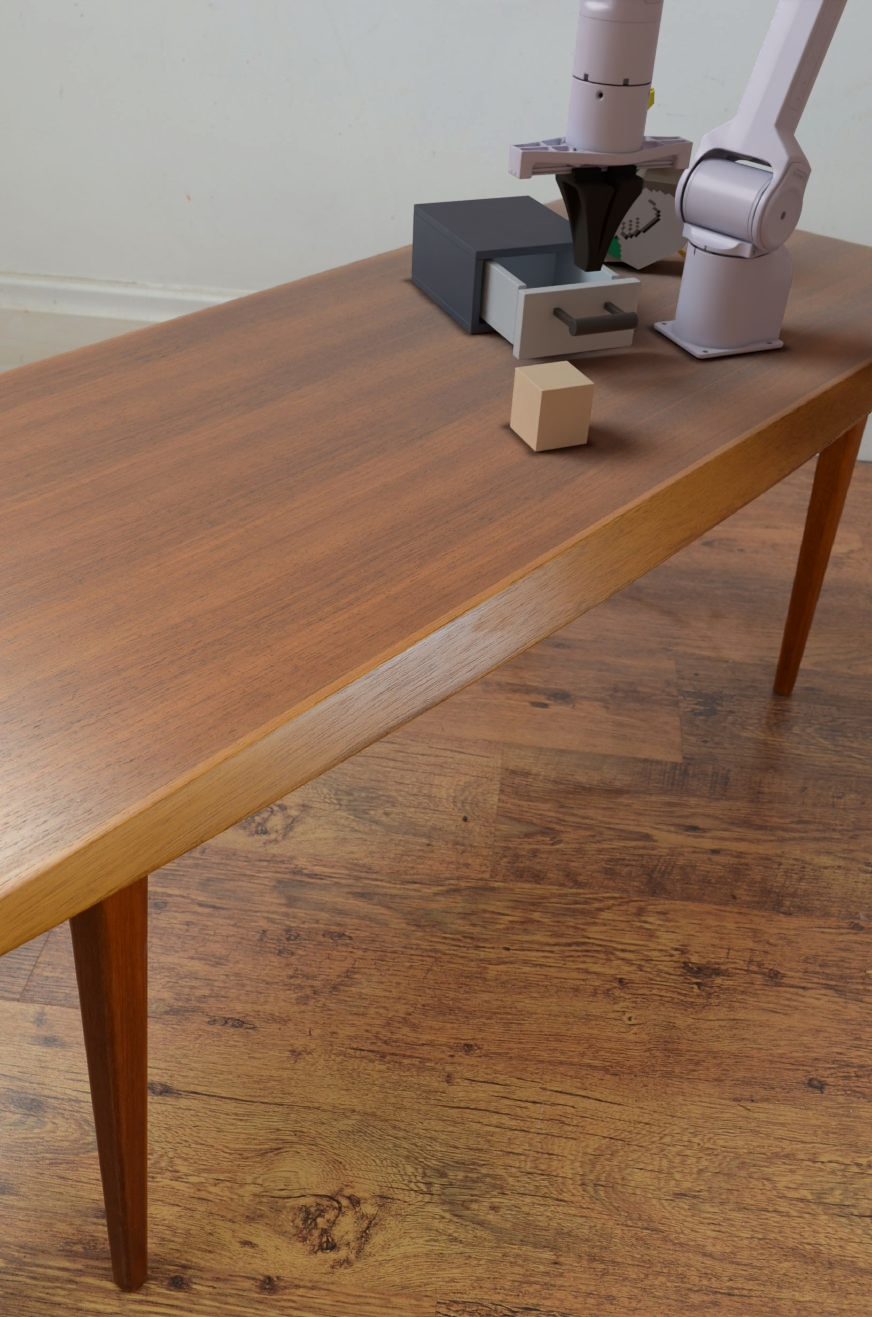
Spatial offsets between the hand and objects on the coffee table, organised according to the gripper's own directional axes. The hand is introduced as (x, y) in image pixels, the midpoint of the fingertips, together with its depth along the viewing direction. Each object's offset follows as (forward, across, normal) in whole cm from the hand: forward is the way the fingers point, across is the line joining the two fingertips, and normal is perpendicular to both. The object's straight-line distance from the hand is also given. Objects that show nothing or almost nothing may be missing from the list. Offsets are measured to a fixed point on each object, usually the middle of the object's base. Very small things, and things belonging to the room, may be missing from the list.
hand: (587, 267), depth 91 cm
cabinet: (+10, -3, -21) cm, 24 cm away
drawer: (+10, -3, -10) cm, 14 cm away
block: (+11, +6, +7) cm, 14 cm away
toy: (+10, -23, -27) cm, 37 cm away
